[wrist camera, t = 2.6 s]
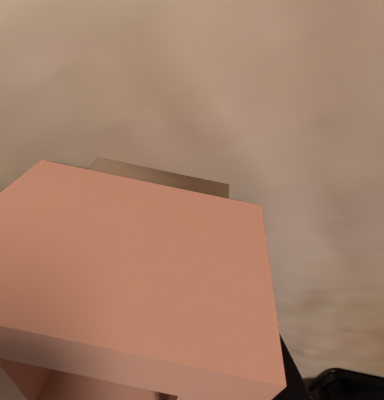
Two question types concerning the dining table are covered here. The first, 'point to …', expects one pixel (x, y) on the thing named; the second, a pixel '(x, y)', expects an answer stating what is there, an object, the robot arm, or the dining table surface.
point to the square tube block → (133, 292)
